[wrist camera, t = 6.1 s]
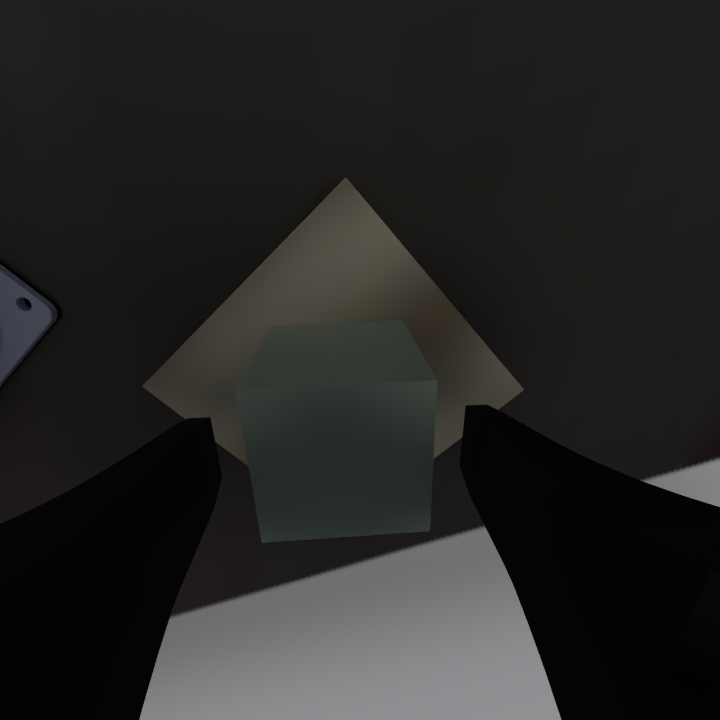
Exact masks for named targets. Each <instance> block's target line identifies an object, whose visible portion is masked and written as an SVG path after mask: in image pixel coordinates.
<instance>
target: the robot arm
mask: <svg viewBox="0 0 720 720" xmlns="http://www.w3.org/2000/svg"><path fill="white" fill-rule="evenodd" d="M24 298H26V299H28V300H29V301H30V302H31V305H32V307H31V308H30V307H28V306H27V305H26V304H25V301H24ZM56 319H57V310H56V308H55V306H54V305H53V304H52V303H51V302H49V301H48V300H47V299H45V298H44V297H43V296H41V295H40V294H39V293H38V292H36V291H35V290H34V289H32V288H31V287H30V286H28V285H27V284H26V283H24V282H23V281H22V280H20V279H19V278H18V277H16V276H15V275H14V274H12V273H11V272H10V271H9V270H7V269H6V268H5V267H3V266H2V265H1V264H0V387H1V386H2V384H3V383H4V382H5V381H6V380H7V378H8V377H9V376H10V375H11V374H12V372H13V371H14V370H15V369H16V367H17V366H18V365H19V364H20V363H21V361H22V360H23V359H24V358H25V357H26V355H27V354H28V353H29V352H30V351H31V349H32V348H33V347H34V346H35V345H36V343H37V342H38V341H39V340H40V339H41V337H42V336H43V335H44V334H45V333H46V331H47V330H48V329H49V328H50V327H51V325H52V324H53V323H54V322H55V321H56ZM460 467H461V470H462V473H463V476H464V479H465V482H466V485H467V488H468V491H469V494H470V496H471V498H472V501H473V503H474V505H475V507H476V509H477V511H478V513H479V515H480V517H481V519H482V521H483V523H484V525H485V527H486V529H487V531H488V533H489V535H490V537H491V539H492V541H493V543H494V545H495V547H496V549H497V551H498V553H499V555H500V557H501V559H502V561H503V563H504V565H505V567H506V569H507V572H508V574H509V576H510V578H511V581H512V583H513V585H514V588H515V590H516V593H517V595H518V598H519V600H520V603H521V606H522V608H523V611H524V614H525V616H526V619H527V622H528V624H529V627H530V630H531V632H532V635H533V638H534V641H535V644H536V646H537V649H538V652H539V655H540V658H541V660H542V663H543V666H544V669H545V672H546V674H547V677H548V680H549V684H550V686H551V690H552V693H553V696H554V699H555V701H556V704H557V707H558V710H559V713H560V716H561V719H562V720H720V507H717V506H714V505H711V504H708V503H704V502H701V501H698V500H695V499H691V498H688V497H685V496H682V495H679V494H676V493H673V492H671V491H668V490H665V489H662V488H659V487H656V486H654V485H651V484H648V483H645V482H643V481H640V480H638V479H635V478H632V477H630V476H627V475H625V474H623V473H620V472H618V471H616V470H613V469H611V468H608V467H606V466H604V465H601V464H599V463H597V462H595V461H592V460H590V459H588V458H586V457H584V456H582V455H580V454H578V453H576V452H574V451H572V450H570V449H568V448H566V447H564V446H562V445H560V444H558V443H556V442H554V441H552V440H551V439H549V438H547V437H545V436H543V435H541V434H540V433H538V432H536V431H534V430H533V429H531V428H529V427H527V426H526V425H524V424H522V423H520V422H519V421H517V420H515V419H513V418H512V417H510V416H508V415H506V414H504V413H503V412H501V411H499V410H497V409H495V408H493V407H491V406H489V405H487V404H485V405H466V406H465V416H464V426H463V436H462V446H461V456H460ZM221 479H222V475H221V470H220V465H219V459H218V454H217V449H216V444H215V438H214V433H213V428H212V423H211V417H202V418H187V419H186V420H184V421H182V422H180V423H178V424H177V425H175V426H173V427H172V428H170V429H169V430H167V431H165V432H164V433H162V434H161V435H159V436H158V437H156V438H155V439H153V440H152V441H150V442H149V443H147V444H146V445H144V446H142V447H141V448H139V449H138V450H136V451H135V452H133V453H132V454H130V455H129V456H127V457H125V458H124V459H122V460H120V461H119V462H117V463H116V464H114V465H112V466H111V467H109V468H107V469H106V470H104V471H102V472H101V473H99V474H97V475H96V476H94V477H92V478H91V479H89V480H87V481H86V482H84V483H82V484H80V485H78V486H77V487H75V488H73V489H71V490H69V491H67V492H66V493H64V494H62V495H60V496H58V497H56V498H54V499H52V500H50V501H48V502H46V503H44V504H42V505H40V506H38V507H36V508H34V509H32V510H30V511H28V512H26V513H24V514H21V515H19V516H17V517H15V518H13V519H10V520H8V521H6V522H4V523H1V524H0V720H139V718H140V714H141V711H142V707H143V704H144V700H145V697H146V693H147V690H148V686H149V683H150V679H151V676H152V673H153V669H154V666H155V662H156V659H157V655H158V652H159V649H160V646H161V643H162V640H163V636H164V633H165V630H166V627H167V624H168V621H169V618H170V614H171V611H172V608H173V606H174V603H175V600H176V598H177V595H178V593H179V590H180V587H181V585H182V583H183V580H184V578H185V576H186V573H187V571H188V569H189V566H190V564H191V562H192V559H193V557H194V555H195V552H196V550H197V548H198V545H199V543H200V541H201V538H202V536H203V533H204V531H205V529H206V526H207V524H208V521H209V519H210V517H211V514H212V512H213V509H214V505H215V502H216V498H217V495H218V491H219V487H220V483H221Z"/></svg>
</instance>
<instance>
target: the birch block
mask: <svg viewBox="0 0 720 720" xmlns="http://www.w3.org/2000/svg"><path fill="white" fill-rule="evenodd" d="M400 319H402V320H403V322H404V324H405V325H406V327H407V329H408V330H409V332H410V334H411V336H412V337H413V339H414V341H415V342H416V344H417V346H418V348H419V349H420V351H421V353H422V354H423V356H424V358H425V360H426V361H427V363H428V365H429V367H430V368H431V370H432V372H433V373H434V375H435V377H436V379H437V399H436V418H435V438H434V458H435V457H437V456H438V455H439V454H441V453H442V452H443V451H444V450H446V449H447V448H448V447H450V446H451V445H452V444H454V443H455V442H456V441H458V440H459V439H460V438H462V436H463V426H464V416H465V406H466V405H485V404H487V405H489V406H491V407H493V408H495V409H497V410H498V409H500V408H501V407H502V406H504V405H505V404H506V403H508V402H509V401H510V400H511V399H513V398H514V397H515V396H517V395H518V394H519V393H521V392H522V391H523V390H524V389H523V388H522V387H521V386H520V384H519V383H518V382H517V381H516V380H515V379H514V377H513V376H512V375H511V374H510V373H509V371H508V370H507V369H506V368H505V367H504V365H503V364H502V363H501V362H500V361H499V359H498V358H497V357H496V356H495V355H494V353H493V352H492V351H491V350H490V349H489V347H488V346H487V345H486V344H485V343H484V342H483V340H482V339H481V338H480V337H479V336H478V334H477V333H476V332H475V331H474V330H473V328H472V327H471V326H470V325H469V324H468V322H467V321H466V320H465V319H464V318H463V316H462V315H461V314H460V313H459V312H458V310H457V309H456V308H455V307H454V306H453V305H452V303H451V302H450V301H449V300H448V299H447V297H446V296H445V295H444V294H443V293H442V291H441V290H440V289H439V288H438V287H437V285H436V284H435V283H434V282H433V281H432V279H431V278H430V277H429V276H428V275H427V273H426V272H425V271H424V270H423V269H422V268H421V266H420V265H419V264H418V263H417V262H416V260H415V259H414V258H413V257H412V256H411V254H410V253H409V252H408V251H407V250H406V248H405V247H404V246H403V245H402V244H401V242H400V241H399V240H398V239H397V238H396V236H395V235H394V234H393V233H392V232H391V231H390V229H389V228H388V227H387V226H386V225H385V223H384V222H383V221H382V220H381V219H380V217H379V216H378V215H377V214H376V213H375V211H374V210H373V209H372V208H371V207H370V205H369V204H368V203H367V202H366V201H365V199H364V198H363V197H362V196H361V195H360V194H359V192H358V191H357V190H356V189H355V188H354V186H353V185H352V184H351V183H350V182H349V180H348V179H347V178H345V179H344V180H343V181H342V182H341V183H340V184H339V185H338V186H337V187H336V188H335V189H334V190H333V191H332V192H331V193H330V194H329V195H328V196H327V197H326V198H325V199H324V200H323V201H322V202H321V203H320V204H319V205H318V206H317V207H316V208H315V209H314V210H313V211H312V212H311V214H310V215H309V216H308V217H307V218H306V219H305V220H304V221H303V222H302V223H301V224H300V225H299V226H298V227H297V228H296V229H295V230H294V231H293V232H292V233H291V234H290V235H289V236H288V237H287V238H286V239H285V240H284V241H283V242H282V243H281V244H280V245H279V246H278V247H277V248H276V249H275V250H274V251H273V253H272V254H271V255H270V256H269V257H268V258H267V259H266V260H265V261H264V262H263V263H262V264H261V265H260V266H259V267H258V268H257V269H256V270H255V271H254V272H253V273H252V274H251V275H250V276H249V277H248V278H247V279H246V280H245V281H244V282H243V283H242V284H241V285H240V286H239V287H238V288H237V289H236V290H235V292H234V293H233V294H232V295H231V296H230V297H229V298H228V299H227V300H226V301H225V302H224V303H223V304H222V305H221V306H220V307H219V308H218V309H217V310H216V311H215V312H214V313H213V314H212V315H211V316H210V317H209V318H208V319H207V320H206V321H205V322H204V323H203V324H202V325H201V326H200V327H199V328H198V330H197V331H196V332H195V333H194V334H193V335H192V336H191V337H190V338H189V339H188V340H187V341H186V342H185V343H184V344H183V345H182V346H181V347H180V348H179V349H178V350H177V351H176V352H175V353H174V354H173V355H172V356H171V357H170V358H169V359H168V360H167V361H166V362H165V363H164V364H163V365H162V366H161V367H160V369H159V370H158V371H157V372H156V373H155V374H154V375H153V376H152V377H151V378H150V379H149V380H148V381H147V382H146V383H145V384H144V385H143V386H142V387H143V388H145V389H146V390H147V391H149V392H150V393H151V394H153V395H154V396H155V397H157V398H158V399H159V400H161V401H162V402H163V403H165V404H166V405H167V406H169V407H170V408H171V409H173V410H174V411H175V412H177V413H178V414H179V415H181V416H182V417H183V418H185V419H187V418H202V417H211V423H212V428H213V433H214V438H215V442H217V443H218V444H219V445H221V446H222V447H223V448H225V449H226V450H227V451H229V452H230V453H231V454H233V455H234V456H235V457H237V458H238V459H239V460H241V461H242V462H243V463H245V464H246V465H247V466H248V460H247V454H246V448H245V443H244V437H243V431H242V425H241V419H240V414H239V408H238V402H237V396H236V389H237V387H238V385H239V384H240V382H241V380H242V378H243V376H244V375H245V373H246V371H247V369H248V367H249V366H250V364H251V362H252V360H253V358H254V357H255V355H256V353H257V351H258V349H259V348H260V346H261V344H262V342H263V340H264V339H265V337H266V335H267V333H268V331H269V330H270V328H271V326H272V325H293V324H313V323H335V322H356V321H378V320H400ZM434 458H433V459H434Z"/></svg>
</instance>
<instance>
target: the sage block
mask: <svg viewBox="0 0 720 720" xmlns="http://www.w3.org/2000/svg"><path fill="white" fill-rule="evenodd" d="M236 396H237V402H238V408H239V414H240V419H241V425H242V431H243V437H244V443H245V448H246V454H247V460H248V466H249V471H250V477H251V483H252V489H253V495H254V500H255V506H256V512H257V518H258V523H259V529H260V535H261V541H262V543H264V542H279V541H293V540H308V539H322V538H337V537H351V536H366V535H380V534H395V533H409V532H424V531H430V517H431V497H432V478H433V458H434V438H435V418H436V399H437V379H436V377H435V375H434V373H433V372H432V370H431V368H430V367H429V365H428V363H427V361H426V360H425V358H424V356H423V354H422V353H421V351H420V349H419V348H418V346H417V344H416V342H415V341H414V339H413V337H412V336H411V334H410V332H409V330H408V329H407V327H406V325H405V324H404V322H403V320H402V319H400V320H378V321H356V322H335V323H313V324H293V325H272V326H271V328H270V330H269V331H268V333H267V335H266V337H265V339H264V340H263V342H262V344H261V346H260V348H259V349H258V351H257V353H256V355H255V357H254V358H253V360H252V362H251V364H250V366H249V367H248V369H247V371H246V373H245V375H244V376H243V378H242V380H241V382H240V384H239V385H238V387H237V389H236Z"/></svg>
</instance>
